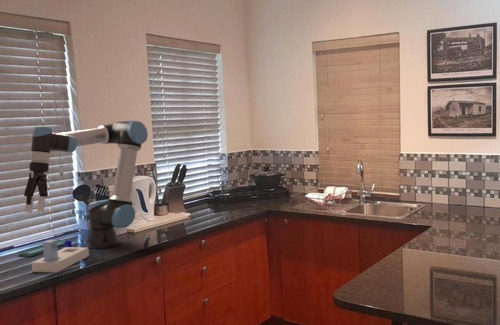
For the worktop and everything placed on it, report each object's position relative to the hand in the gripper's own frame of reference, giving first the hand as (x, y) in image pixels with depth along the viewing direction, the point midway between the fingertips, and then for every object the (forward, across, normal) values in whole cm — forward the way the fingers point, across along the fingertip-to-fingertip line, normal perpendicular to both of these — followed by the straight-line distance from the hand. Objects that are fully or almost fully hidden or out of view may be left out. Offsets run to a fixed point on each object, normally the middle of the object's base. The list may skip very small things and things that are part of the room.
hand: (34, 212), depth 207 cm
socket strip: (+24, -12, +10) cm, 28 cm away
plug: (+24, -5, +8) cm, 26 cm away
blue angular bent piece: (+22, -31, +3) cm, 38 cm away
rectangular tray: (+22, -44, -8) cm, 50 cm away
